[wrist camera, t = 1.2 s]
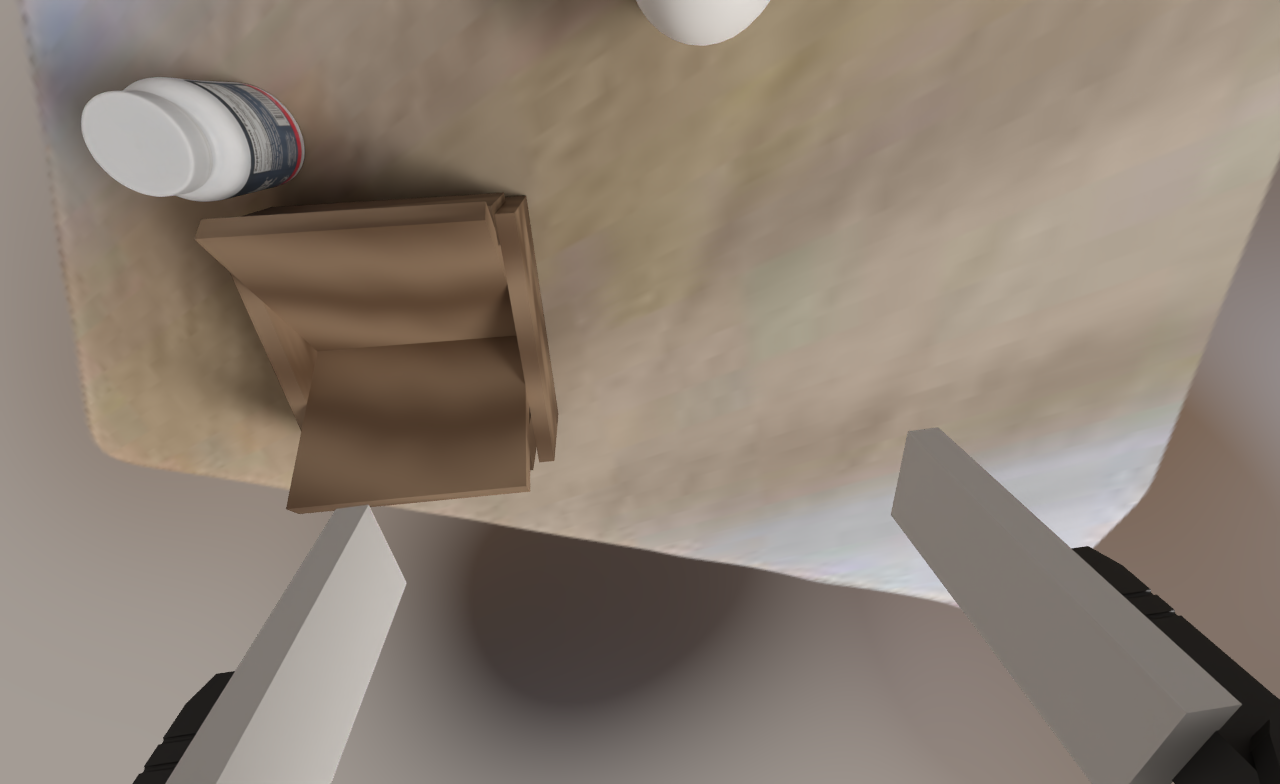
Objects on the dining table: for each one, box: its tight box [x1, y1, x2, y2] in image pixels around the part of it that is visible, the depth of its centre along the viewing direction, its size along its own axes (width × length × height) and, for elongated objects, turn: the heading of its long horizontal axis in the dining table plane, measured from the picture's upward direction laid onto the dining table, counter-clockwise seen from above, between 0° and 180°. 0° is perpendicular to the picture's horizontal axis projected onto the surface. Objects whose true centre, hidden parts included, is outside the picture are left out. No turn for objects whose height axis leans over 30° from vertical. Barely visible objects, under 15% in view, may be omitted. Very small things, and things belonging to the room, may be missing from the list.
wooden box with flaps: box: [194, 193, 558, 514], centre depth 30 cm, size 17×15×11 cm
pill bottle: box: [81, 77, 305, 202], centre depth 25 cm, size 5×5×9 cm
